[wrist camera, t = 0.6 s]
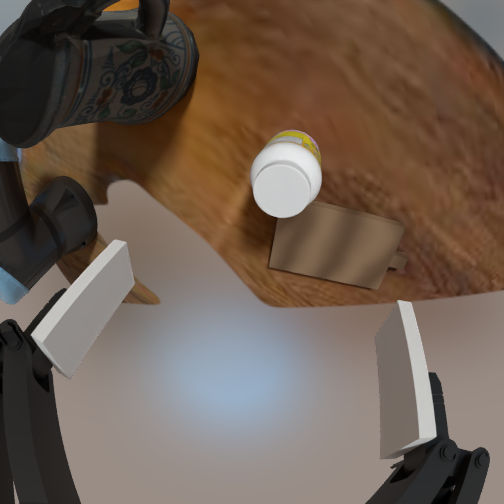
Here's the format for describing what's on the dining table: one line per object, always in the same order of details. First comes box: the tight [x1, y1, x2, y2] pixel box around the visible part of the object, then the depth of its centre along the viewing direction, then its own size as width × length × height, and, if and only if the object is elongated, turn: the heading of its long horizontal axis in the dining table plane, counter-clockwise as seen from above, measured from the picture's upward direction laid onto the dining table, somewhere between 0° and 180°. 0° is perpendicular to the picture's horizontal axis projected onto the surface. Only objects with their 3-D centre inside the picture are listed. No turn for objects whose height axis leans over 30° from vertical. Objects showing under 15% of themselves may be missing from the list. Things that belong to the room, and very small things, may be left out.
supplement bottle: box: [250, 130, 322, 218], centre depth 27 cm, size 7×7×13 cm
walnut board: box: [269, 200, 408, 290], centre depth 37 cm, size 19×11×2 cm, turn 84°
